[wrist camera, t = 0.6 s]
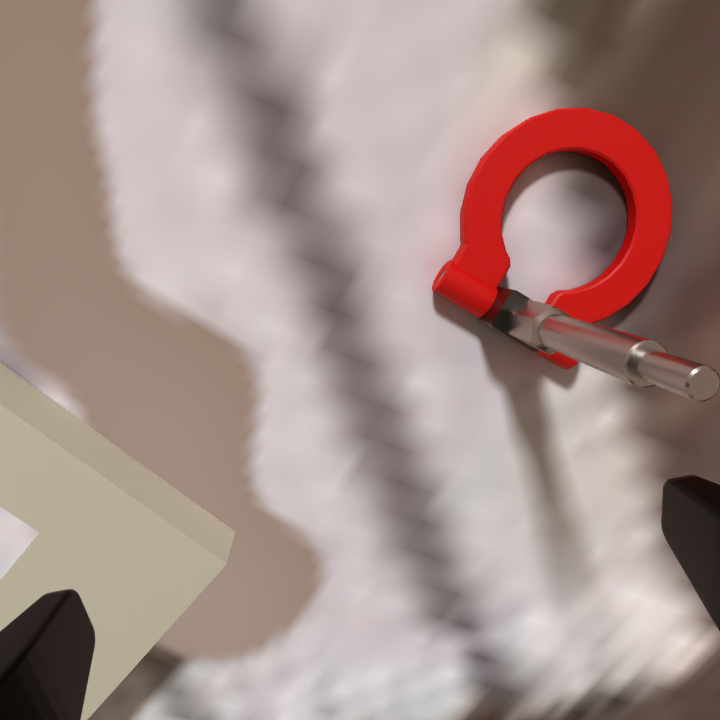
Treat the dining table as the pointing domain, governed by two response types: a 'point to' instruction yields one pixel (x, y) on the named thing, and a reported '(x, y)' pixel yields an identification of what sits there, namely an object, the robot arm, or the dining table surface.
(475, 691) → the dining table surface
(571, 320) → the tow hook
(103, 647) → the hole board
